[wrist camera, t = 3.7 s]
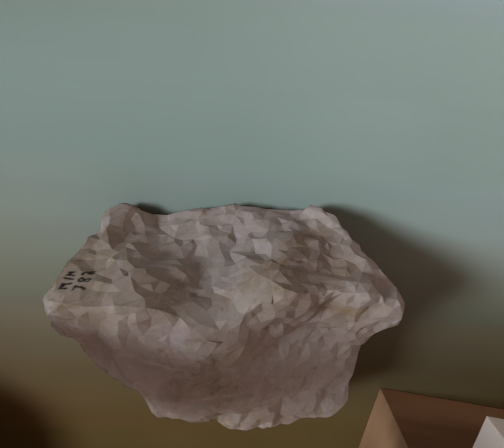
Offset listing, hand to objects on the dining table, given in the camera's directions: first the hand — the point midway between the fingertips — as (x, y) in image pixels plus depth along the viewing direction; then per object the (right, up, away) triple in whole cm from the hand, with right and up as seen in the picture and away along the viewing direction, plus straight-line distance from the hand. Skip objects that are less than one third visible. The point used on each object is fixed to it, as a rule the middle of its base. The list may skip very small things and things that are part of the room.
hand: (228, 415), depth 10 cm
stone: (0, +3, +6) cm, 6 cm away
